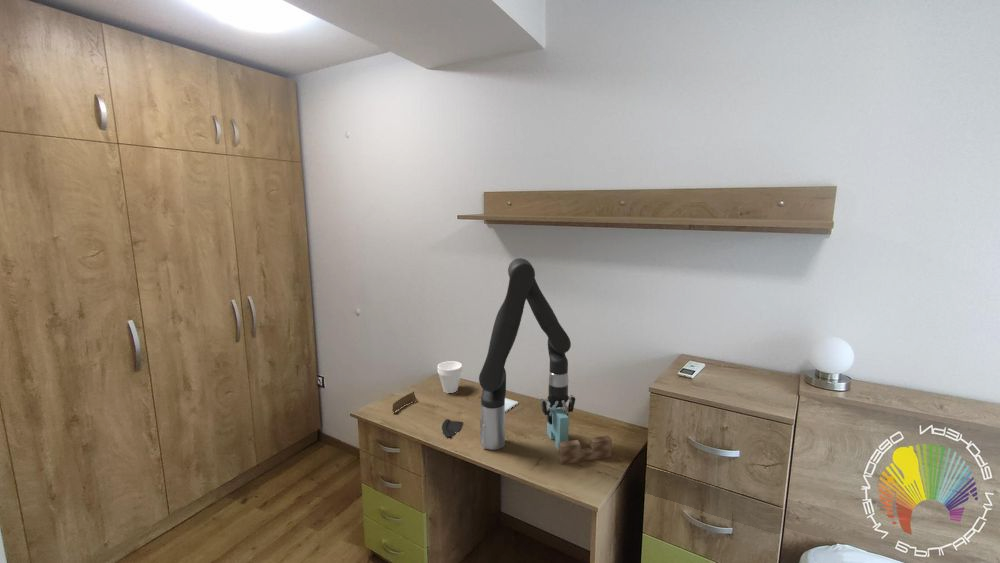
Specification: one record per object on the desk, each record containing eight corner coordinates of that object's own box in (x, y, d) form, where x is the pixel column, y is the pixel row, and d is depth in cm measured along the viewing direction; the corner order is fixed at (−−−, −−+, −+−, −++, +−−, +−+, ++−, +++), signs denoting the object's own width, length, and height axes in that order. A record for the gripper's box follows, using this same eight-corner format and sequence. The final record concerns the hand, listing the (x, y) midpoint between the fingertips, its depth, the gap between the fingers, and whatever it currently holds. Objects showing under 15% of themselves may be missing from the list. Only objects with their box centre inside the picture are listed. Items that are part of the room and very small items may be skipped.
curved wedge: (436, 438, 181) (435, 435, 181) (445, 422, 194) (445, 419, 194) (455, 440, 180) (455, 436, 179) (463, 423, 193) (463, 420, 192)
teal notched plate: (568, 451, 171) (568, 417, 168) (559, 452, 170) (560, 418, 167) (555, 432, 184) (555, 401, 181) (547, 433, 183) (547, 402, 181)
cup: (454, 384, 233) (453, 359, 230) (467, 391, 223) (466, 366, 221) (433, 390, 225) (432, 364, 223) (446, 398, 216) (445, 372, 213)
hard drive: (503, 412, 200) (518, 401, 210) (488, 407, 204) (504, 397, 214) (503, 415, 200) (518, 404, 210) (488, 410, 205) (504, 400, 215)
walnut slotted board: (561, 464, 162) (561, 446, 161) (558, 459, 165) (558, 442, 164) (611, 456, 167) (611, 439, 166) (607, 452, 170) (608, 435, 168)
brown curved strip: (395, 414, 200) (394, 404, 199) (391, 413, 201) (391, 403, 200) (417, 401, 213) (417, 391, 212) (414, 400, 214) (413, 390, 213)
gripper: (571, 376, 178) (570, 415, 181) (537, 380, 174) (537, 420, 177) (579, 384, 170) (578, 424, 173) (544, 388, 167) (543, 429, 170)
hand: (557, 422), depth 175 cm, fingers open, 5 cm apart
